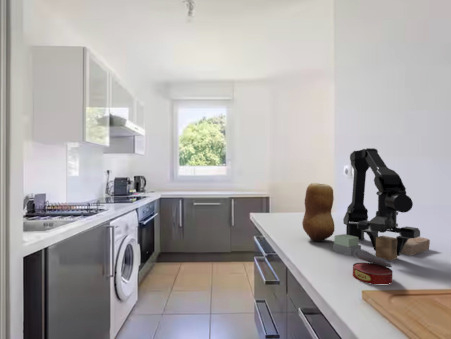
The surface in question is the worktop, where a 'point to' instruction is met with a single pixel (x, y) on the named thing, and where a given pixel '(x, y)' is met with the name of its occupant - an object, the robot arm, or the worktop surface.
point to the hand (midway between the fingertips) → (386, 253)
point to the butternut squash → (318, 212)
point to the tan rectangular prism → (386, 247)
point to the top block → (346, 240)
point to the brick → (415, 246)
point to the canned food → (371, 268)
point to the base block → (345, 249)
